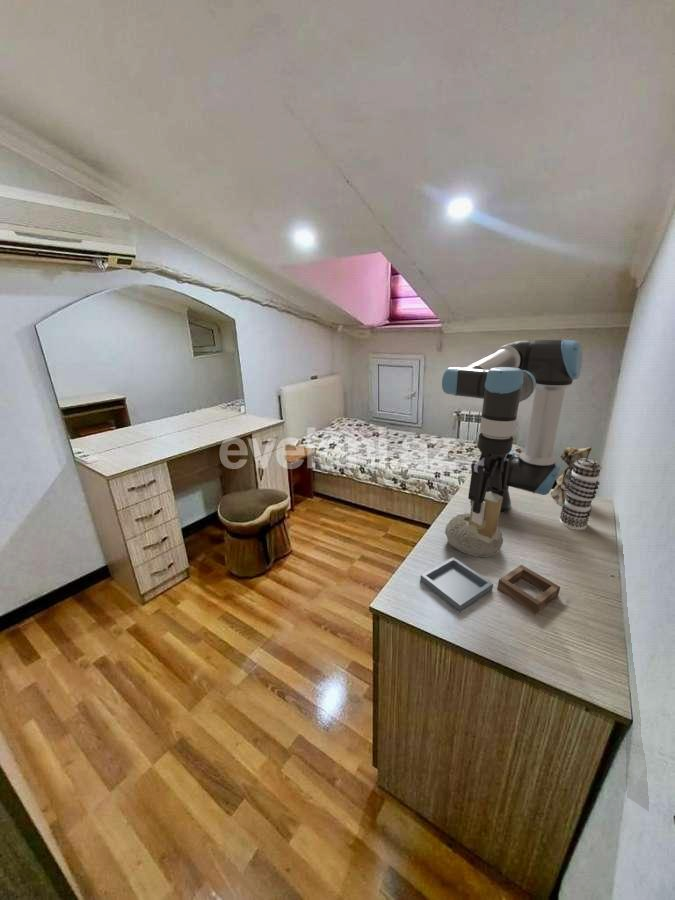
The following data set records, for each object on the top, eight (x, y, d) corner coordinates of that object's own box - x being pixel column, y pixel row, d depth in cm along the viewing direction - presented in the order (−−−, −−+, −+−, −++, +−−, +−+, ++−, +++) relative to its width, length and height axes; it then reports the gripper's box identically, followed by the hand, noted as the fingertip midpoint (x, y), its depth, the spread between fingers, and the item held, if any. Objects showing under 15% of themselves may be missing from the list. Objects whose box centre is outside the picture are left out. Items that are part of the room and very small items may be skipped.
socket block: (519, 574, 104) (521, 564, 103) (557, 597, 96) (560, 586, 94) (497, 589, 99) (498, 579, 97) (535, 615, 90) (538, 604, 89)
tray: (452, 563, 109) (453, 557, 108) (492, 590, 98) (493, 583, 97) (420, 581, 102) (420, 574, 101) (459, 612, 91) (460, 605, 90)
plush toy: (583, 513, 133) (598, 449, 128) (543, 503, 141) (556, 442, 137) (588, 507, 143) (603, 447, 138) (550, 497, 152) (563, 441, 147)
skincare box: (466, 535, 94) (471, 494, 89) (472, 528, 97) (478, 488, 92) (490, 544, 89) (497, 502, 85) (496, 536, 92) (503, 496, 88)
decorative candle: (552, 516, 133) (566, 455, 124) (577, 516, 133) (593, 455, 124) (566, 530, 124) (582, 466, 116) (593, 530, 124) (611, 465, 115)
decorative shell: (505, 542, 119) (509, 516, 115) (494, 572, 105) (498, 544, 102) (453, 526, 129) (455, 502, 125) (436, 552, 115) (438, 526, 111)
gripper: (503, 424, 91) (491, 502, 99) (458, 438, 81) (449, 523, 89) (532, 430, 85) (516, 514, 93) (487, 446, 75) (474, 537, 84)
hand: (483, 518), depth 91 cm, fingers closed on skincare box, 5 cm apart
